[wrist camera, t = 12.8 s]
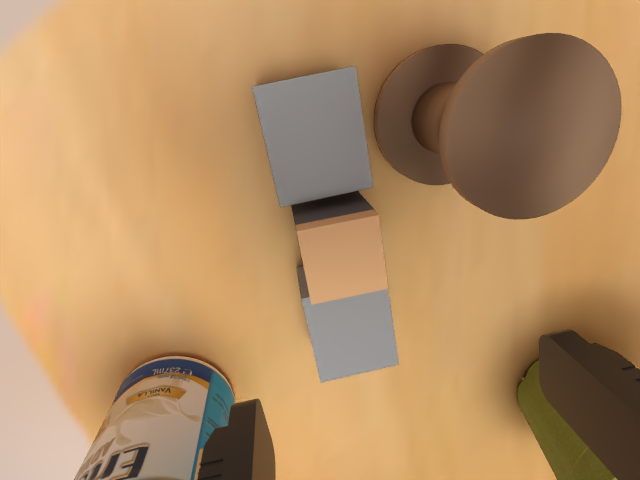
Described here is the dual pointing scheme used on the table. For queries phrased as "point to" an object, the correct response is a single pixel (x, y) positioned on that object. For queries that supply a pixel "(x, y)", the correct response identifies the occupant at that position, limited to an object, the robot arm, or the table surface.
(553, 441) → the plant pot
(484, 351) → the table surface
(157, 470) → the beverage bottle
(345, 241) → the tan rectangular block
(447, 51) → the bobbin
